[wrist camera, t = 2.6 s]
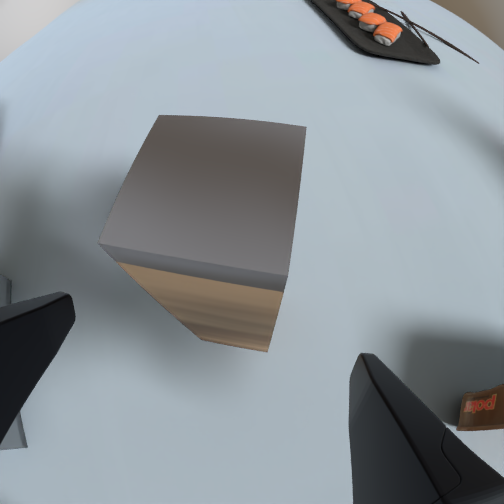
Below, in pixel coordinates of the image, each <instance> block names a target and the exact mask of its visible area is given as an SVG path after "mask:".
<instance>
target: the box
mask: <svg viewBox="0 0 504 504" xmlns="http://www.w3.org/2000/svg"><path fill="white" fill-rule="evenodd" d="M10 304H11V281H10V280H9V279H7V278H5V277H4V276H2V275H1V274H0V307H3V306H7V305H10ZM18 448H27V443H26V439H25V434H24V430H23V425H22V421H21V416H20V411H19V413H18V415H17V416H16V418H15V420H14V422H13V423H12V425H11V427H10V429H9V430H8V432H7V434H6V436H5V437H4V439H3V441H2V443H1V445H0V450H7V449H18Z"/></svg>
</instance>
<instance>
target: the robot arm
mask: <svg viewBox="0 0 504 504" xmlns="http://www.w3.org/2000/svg"><path fill="white" fill-rule="evenodd" d="M75 317H76V316H75V310H74V305H73V300H72V297H71V295H70V294H67V293H64V292H56V293H53V294H49V295H45V296H41V297H37V298H33V299H30V300H26V301H22V302H18V303H14V304H10V305H7V306H3V307H0V445H1V443H2V441H3V439H4V437H5V436H6V434H7V432H8V430H9V429H10V427H11V425H12V423H13V422H14V420H15V418H16V416H17V415H18V413H19V411H20V410H21V408H22V406H23V405H24V403H25V402H26V400H27V398H28V397H29V395H30V394H31V392H32V390H33V389H34V387H35V386H36V384H37V383H38V381H39V380H40V378H41V377H42V375H43V373H44V372H45V370H46V369H47V368H48V366H49V365H50V363H51V362H52V360H53V359H54V357H55V355H56V354H57V352H58V350H59V349H60V347H61V345H62V343H63V341H64V340H65V338H66V336H67V334H68V333H69V331H70V329H71V327H72V326H73V324H74V322H75ZM349 438H350V451H351V465H352V484H353V504H504V477H502V476H501V475H500V474H499V473H498V472H496V471H495V470H494V469H493V468H492V467H490V466H489V465H488V464H487V463H486V462H484V461H483V460H482V459H481V458H480V457H478V456H477V455H476V454H475V453H474V452H473V451H471V450H470V449H469V448H468V447H467V446H466V445H465V444H464V443H463V442H462V441H461V440H460V439H459V438H458V437H457V436H456V435H455V434H454V433H453V432H452V431H451V430H450V429H449V428H446V425H445V424H444V423H443V422H442V421H441V420H440V419H439V418H438V417H437V416H436V415H435V414H434V413H433V412H432V411H431V410H430V409H429V408H428V407H427V406H426V405H425V404H424V403H423V402H422V401H421V400H420V399H419V398H418V397H417V396H416V395H415V394H414V393H413V392H412V391H411V390H410V389H409V388H408V387H407V386H406V385H405V384H404V383H403V382H402V381H401V380H400V379H399V378H398V377H397V376H396V375H395V374H394V373H393V372H392V371H391V370H390V369H389V368H388V367H387V366H386V365H385V364H384V363H383V362H382V361H381V360H380V359H379V358H378V357H377V356H375V355H374V354H370V353H361V354H359V356H358V358H357V360H356V363H355V365H354V368H353V370H352V373H351V376H350V386H349Z"/></svg>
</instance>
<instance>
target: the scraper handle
mask: <svg viewBox="0 0 504 504" xmlns="http://www.w3.org/2000/svg"><path fill="white" fill-rule="evenodd" d="M305 136H306V127H303V126H297V125H290V124H282V123H274V122H266V121H256V120H246V119H235V118H222V117H205V116H178V115H159V116H158V118H157V120H156V121H155V123H154V125H153V127H152V128H151V130H150V132H149V134H148V136H147V137H146V139H145V141H144V143H143V145H142V147H141V149H140V151H139V152H138V154H137V156H136V158H135V160H134V162H133V164H132V166H131V168H130V170H129V172H128V174H127V176H126V178H125V181H124V183H123V185H122V187H121V189H120V191H119V193H118V196H117V198H116V200H115V202H114V205H113V207H112V209H111V211H110V214H109V216H108V218H107V221H106V223H105V226H104V228H103V231H102V233H101V236H100V238H99V241H98V244H99V245H100V246H101V247H102V248H103V249H104V250H105V251H106V252H107V253H108V254H109V255H110V256H111V257H112V258H113V259H114V260H115V261H116V262H117V263H118V264H119V265H120V266H121V267H122V268H123V269H124V270H125V271H126V272H127V273H128V274H129V275H130V276H131V277H132V278H133V279H134V280H135V281H136V282H137V283H138V284H139V285H140V286H141V287H142V288H143V289H145V290H146V291H147V292H148V293H149V294H150V295H151V296H152V297H153V298H154V299H155V300H156V301H158V302H159V303H160V304H161V305H162V306H163V307H164V308H165V309H166V310H167V311H169V312H170V313H171V314H172V315H173V316H174V317H175V318H177V319H178V320H179V321H180V322H181V323H182V324H183V325H185V326H186V327H187V328H188V329H189V330H190V331H192V332H193V333H194V334H195V335H196V336H197V337H199V338H200V339H201V340H205V341H210V342H214V343H219V344H224V345H230V346H235V347H240V348H246V349H251V350H257V351H263V352H268V348H269V345H270V341H271V338H272V334H273V330H274V327H275V323H276V319H277V316H278V312H279V308H280V304H281V300H282V297H283V293H284V289H285V285H286V281H287V277H288V272H289V265H290V258H291V251H292V244H293V236H294V229H295V221H296V214H297V206H298V198H299V190H300V181H301V173H302V164H303V155H304V146H305Z"/></svg>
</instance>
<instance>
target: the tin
mask: <svg viewBox="0 0 504 504" xmlns="http://www.w3.org/2000/svg"><path fill="white" fill-rule="evenodd" d="M493 429H504V384H502V385H499V386H497V387H494V388H492V389H489V390H485V391H480V392H475V393H473V392H467V393H465V394H464V395H463V398H462V403H461V410H460V418H459V424H458V427H457V428H456V430H457V431H479V430H493Z"/></svg>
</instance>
